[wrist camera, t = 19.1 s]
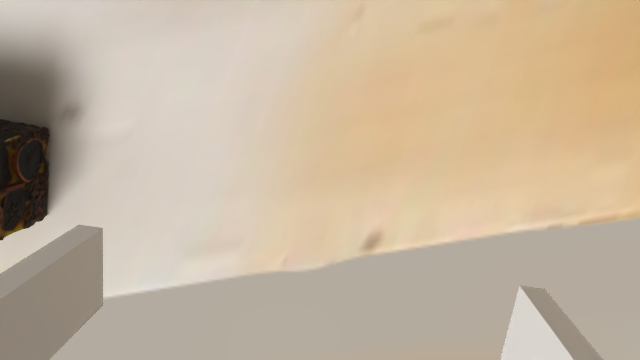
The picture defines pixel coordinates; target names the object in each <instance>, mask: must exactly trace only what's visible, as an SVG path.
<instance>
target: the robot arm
mask: <svg viewBox="0 0 640 360" xmlns="http://www.w3.org/2000/svg"><path fill="white" fill-rule="evenodd" d="M102 306H103V228H98V227H91V226H84V225H78V226H76V227H75V228H73V229H71V230H70V231H68V232H67V233H65V234H63V235H62V236H60V237H59V238H57V239H55V240H54V241H52V242H51V243H49V244H47V245H46V246H44V247H43V248H41V249H39V250H38V251H36V252H35V253H33V254H31V255H30V256H28V257H27V258H25V259H23V260H22V261H20V262H19V263H17V264H15V265H14V266H12V267H11V268H9V269H7V270H6V271H4V272H3V273H1V274H0V360H49V359H50V358H51V357H52V356H53V355H54V354H55V353H56V352H57V351H58V350H59V349H60V348H61V347H62V346H63V345H64V344H65V343H66V342H67V341H68V340H69V339H70V338H71V337H72V336H73V335H74V334H75V333H76V332H77V331H78V330H79V329H80V328H81V327H82V326H83V325H84V324H85V323H86V322H87V321H88V320H89V319H90V318H91V317H92V316H93V315H94V314H95V313H96V312H97V311H98V310H99V309H100V308H101V307H102ZM500 360H603V359H602V358H601V357H600V355H599V354H598V353H597V352H596V351H595V349H594V348H593V347H592V346H591V345H590V343H589V342H588V341H587V340H586V338H585V337H584V336H583V335H582V334H581V332H580V331H579V330H578V329H577V328H576V326H575V325H574V324H573V323H572V322H571V320H570V319H569V318H568V317H567V315H566V314H565V313H564V312H563V311H562V309H561V308H560V307H559V306H558V305H557V303H556V302H555V301H554V300H553V299H552V297H551V296H550V295H549V294H548V293H547V291H546V290H545V289H541V288H533V287H526V286H519V290H518V294H517V297H516V301H515V305H514V309H513V313H512V317H511V321H510V324H509V328H508V332H507V336H506V340H505V344H504V348H503V351H502V355H501V359H500Z"/></svg>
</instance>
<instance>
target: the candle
mask: <svg viewBox="0 0 640 360" xmlns="http://www.w3.org/2000/svg"><path fill="white" fill-rule="evenodd" d="M48 137H49V134H48V129H47V128H46V127H43V128H39V127H37V126H34V125H27V124H24V123H15V122H11V121H7V120H0V240H3V238H4V237H6V236H8V235H9V234H12V233H14V232H16V231H19V230H21V229H26V228H29V227H31V226H32V225H34V223H35V222H36V221H37V222H39V221H42V220H43V219H44V217H45V216H46V196H47V187H48V184H47V179H48V169H47V167H48V163H47V162H46V161H45V153H46V146H47V143H48Z"/></svg>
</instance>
